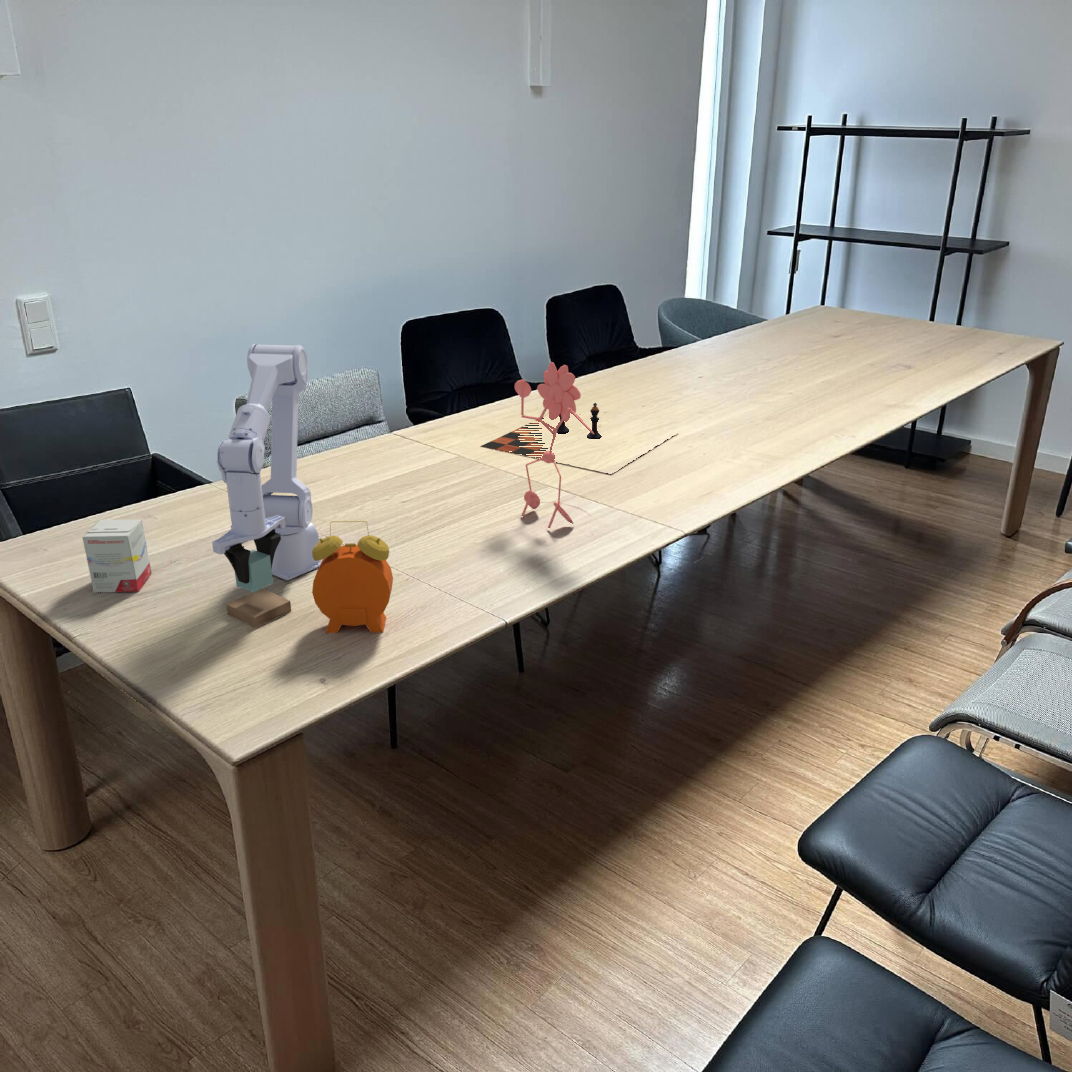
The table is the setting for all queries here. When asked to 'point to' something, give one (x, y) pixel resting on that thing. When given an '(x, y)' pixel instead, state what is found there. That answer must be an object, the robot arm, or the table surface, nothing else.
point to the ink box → (117, 555)
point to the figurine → (558, 401)
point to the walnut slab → (258, 607)
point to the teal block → (257, 572)
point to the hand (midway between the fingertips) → (255, 576)
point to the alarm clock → (352, 581)
